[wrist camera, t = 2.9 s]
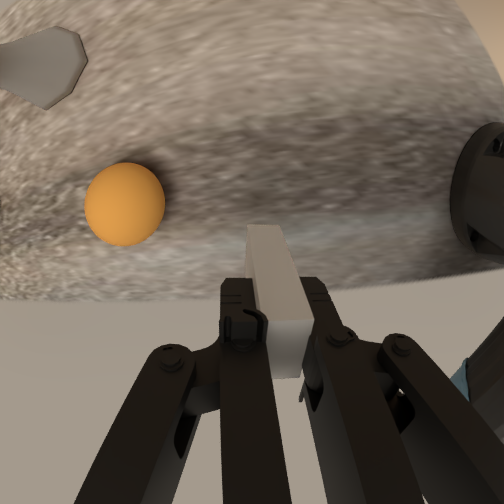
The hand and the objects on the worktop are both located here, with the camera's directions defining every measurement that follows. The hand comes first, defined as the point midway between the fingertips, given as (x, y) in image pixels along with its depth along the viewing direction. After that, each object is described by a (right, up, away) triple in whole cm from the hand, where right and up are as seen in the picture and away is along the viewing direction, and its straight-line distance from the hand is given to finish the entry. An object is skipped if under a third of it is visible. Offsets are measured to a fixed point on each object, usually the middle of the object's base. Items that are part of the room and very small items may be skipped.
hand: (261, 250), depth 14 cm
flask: (-17, +15, +2) cm, 23 cm away
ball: (-10, +3, +6) cm, 12 cm away
